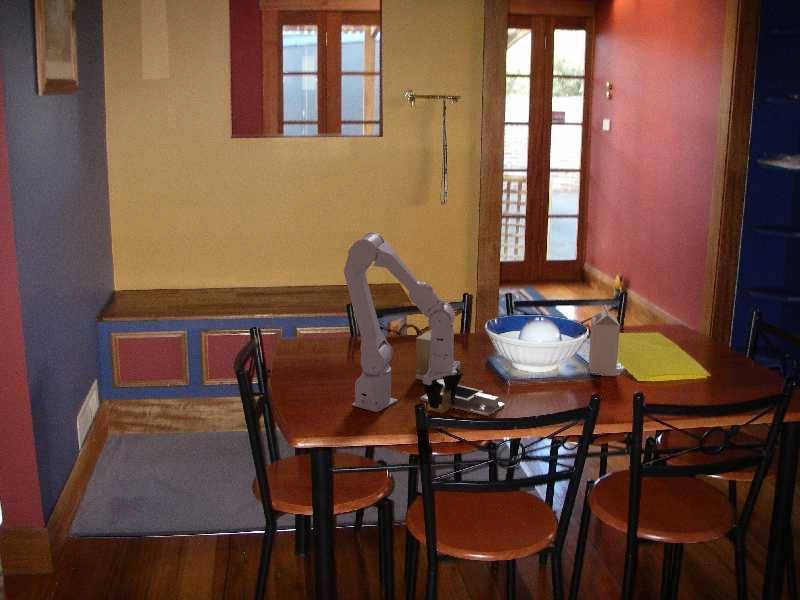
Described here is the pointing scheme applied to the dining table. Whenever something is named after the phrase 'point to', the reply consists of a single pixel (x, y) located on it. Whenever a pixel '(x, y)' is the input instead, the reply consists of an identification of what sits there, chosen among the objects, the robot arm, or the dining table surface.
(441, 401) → the block
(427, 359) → the skincare box
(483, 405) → the coupling bench
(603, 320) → the milk carton
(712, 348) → the dining table surface
